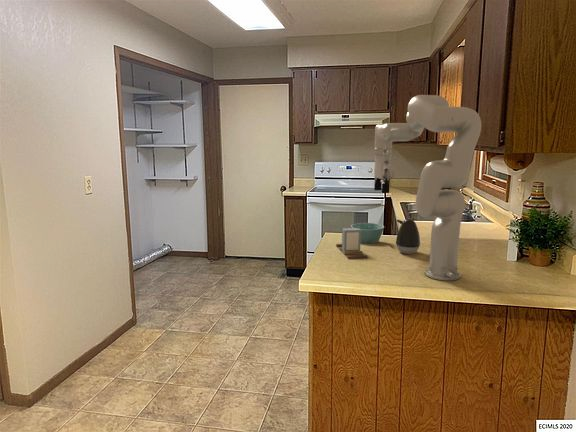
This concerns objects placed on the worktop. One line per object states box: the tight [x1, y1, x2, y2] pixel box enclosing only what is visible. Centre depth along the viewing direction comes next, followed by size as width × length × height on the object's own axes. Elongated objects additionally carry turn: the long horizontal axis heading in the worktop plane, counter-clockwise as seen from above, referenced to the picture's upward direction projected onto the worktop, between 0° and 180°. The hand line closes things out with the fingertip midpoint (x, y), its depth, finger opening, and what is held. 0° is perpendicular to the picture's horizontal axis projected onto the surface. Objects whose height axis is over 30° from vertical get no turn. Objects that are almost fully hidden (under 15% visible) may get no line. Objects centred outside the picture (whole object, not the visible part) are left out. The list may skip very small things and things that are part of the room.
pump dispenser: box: [395, 218, 421, 255], centre depth 183 cm, size 10×10×15 cm
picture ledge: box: [335, 243, 368, 260], centre depth 180 cm, size 20×8×2 cm, turn 7°
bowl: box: [350, 222, 385, 245], centre depth 202 cm, size 16×16×8 cm
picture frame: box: [341, 227, 361, 253], centre depth 179 cm, size 4×7×10 cm, turn 97°
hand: (381, 191), depth 186 cm, fingers open, 9 cm apart
